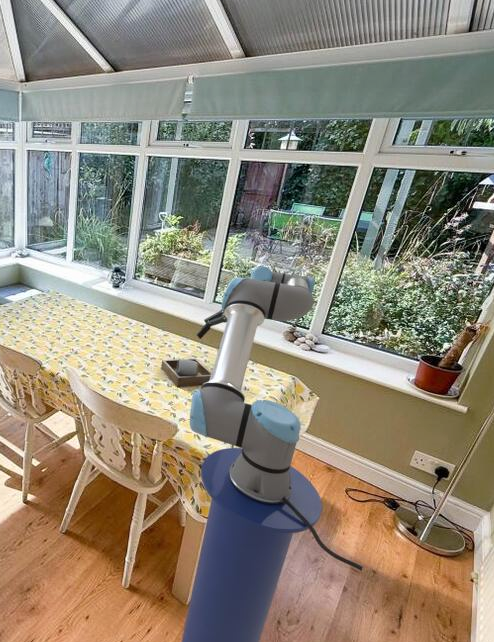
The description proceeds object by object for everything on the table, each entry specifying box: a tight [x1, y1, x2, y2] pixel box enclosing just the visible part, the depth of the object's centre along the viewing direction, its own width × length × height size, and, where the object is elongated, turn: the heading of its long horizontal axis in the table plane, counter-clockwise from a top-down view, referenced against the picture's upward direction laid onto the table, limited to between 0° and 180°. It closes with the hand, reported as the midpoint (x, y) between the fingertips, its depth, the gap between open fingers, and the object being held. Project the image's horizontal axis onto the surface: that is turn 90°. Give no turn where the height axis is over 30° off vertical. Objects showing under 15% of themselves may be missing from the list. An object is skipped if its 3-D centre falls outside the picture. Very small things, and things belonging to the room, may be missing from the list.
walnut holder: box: [160, 357, 212, 388], centre depth 174 cm, size 16×16×5 cm
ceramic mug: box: [175, 357, 199, 377], centre depth 174 cm, size 11×8×8 cm
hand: (208, 343), depth 173 cm, fingers open, 13 cm apart
